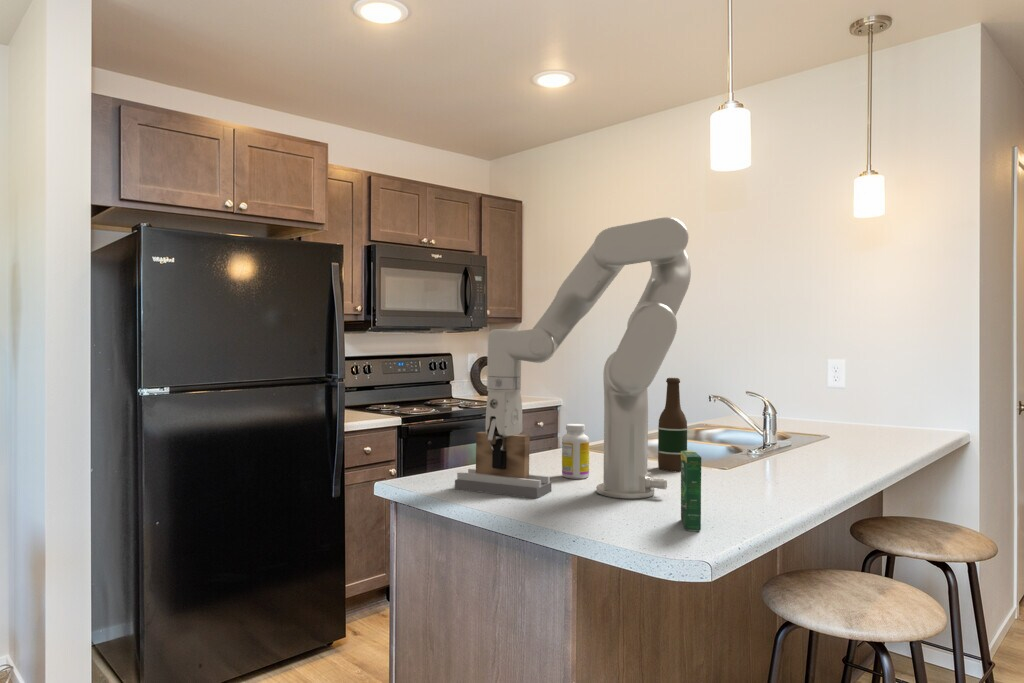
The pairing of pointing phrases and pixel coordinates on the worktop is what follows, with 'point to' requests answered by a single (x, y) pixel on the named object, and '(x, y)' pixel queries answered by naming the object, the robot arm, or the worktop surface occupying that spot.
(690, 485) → the coffee box
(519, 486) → the rail
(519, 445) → the door panel
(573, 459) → the supplement bottle
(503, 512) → the worktop surface
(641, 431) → the robot arm
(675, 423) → the beer bottle
